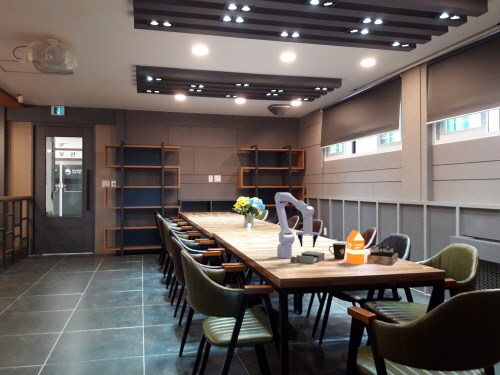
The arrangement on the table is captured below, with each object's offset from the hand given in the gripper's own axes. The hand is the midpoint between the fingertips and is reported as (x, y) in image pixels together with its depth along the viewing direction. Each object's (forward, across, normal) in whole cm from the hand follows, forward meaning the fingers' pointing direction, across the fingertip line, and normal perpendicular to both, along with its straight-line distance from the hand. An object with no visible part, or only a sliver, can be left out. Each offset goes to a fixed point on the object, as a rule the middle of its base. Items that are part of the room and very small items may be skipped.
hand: (307, 246), depth 239 cm
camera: (+10, +43, +21) cm, 49 cm away
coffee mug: (+10, +16, +20) cm, 27 cm away
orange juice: (+10, +28, +10) cm, 32 cm away
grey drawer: (+9, 0, +2) cm, 10 cm away
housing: (+9, +2, +10) cm, 13 cm away
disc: (+8, 0, +1) cm, 8 cm away
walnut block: (+9, -7, -6) cm, 13 cm away
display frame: (+10, +45, +22) cm, 51 cm away
